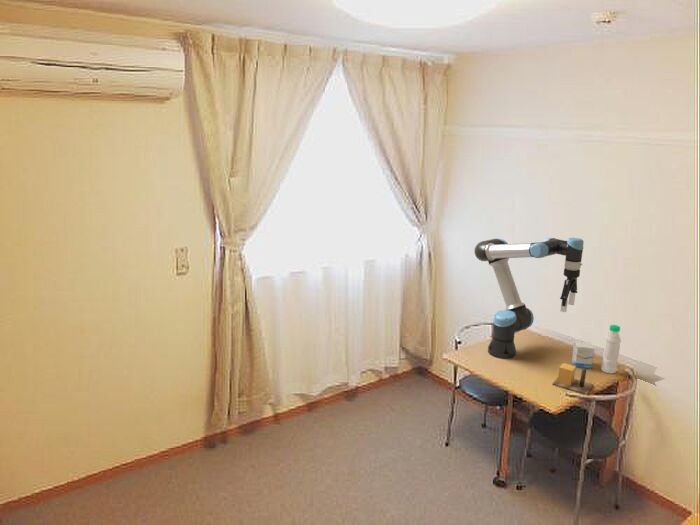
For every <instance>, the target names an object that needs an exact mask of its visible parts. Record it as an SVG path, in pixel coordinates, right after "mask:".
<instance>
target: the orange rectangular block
mask: <svg viewBox="0 0 700 525" xmlns="http://www.w3.org/2000/svg"><path fill="white" fill-rule="evenodd" d="M576 369H577V367H576V366H574V365H572V364H568V363H565V362H562V364H561V365H560V366H559V369H558V377H557V378H558V382H559V383H562V384H566V385H569V386H571V384H572V383H573V382H574V379H575V375H576Z"/></svg>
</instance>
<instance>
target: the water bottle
mask: <svg viewBox="0 0 700 525" xmlns="http://www.w3.org/2000/svg"><path fill="white" fill-rule="evenodd" d="M620 331H621V326H619V325H616V324H611V325H610V326H609V332H608V333H607V335H606V336H605V342H604V348H603V356H602V359H601V360H602V361H601V366H600V369H601V371H602V372H603V373H605V374H616V372H617V367H618V366H617V365H618V358H619V354H620V348H621V342H622V339H621V336H620V334H619V333H620Z"/></svg>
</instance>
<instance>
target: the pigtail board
mask: <svg viewBox="0 0 700 525" xmlns="http://www.w3.org/2000/svg"><path fill="white" fill-rule="evenodd" d="M580 372H581V373H580V379H577V378H574V382H573V383H572V384H571V386H569V385H566V384H562V383H559V382H558V377H556V379H555V380H554V381H553V382H552V386H554V385H555V387H558V388H561V387H562V389H564V388H565V389H564V390H569V391H572V392H575V393H578V394H581V393H582V395H584V394H587V395H589V393H590V392H591V390H592V389H593V388H594V383H591V382H587V381H586V375H587V374H586V373H587V368H581V371H580Z"/></svg>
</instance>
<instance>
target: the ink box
mask: <svg viewBox="0 0 700 525" xmlns="http://www.w3.org/2000/svg"><path fill="white" fill-rule="evenodd" d="M572 349H573V350H572V355H571V362H572V364H573V366H576V368H581V369H583V368H584V369H589V370H590V369H592V367H593V359H594V353H595V347H594V346H593V344H592V342H591V341H581V340H574V342H573V348H572Z"/></svg>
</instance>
